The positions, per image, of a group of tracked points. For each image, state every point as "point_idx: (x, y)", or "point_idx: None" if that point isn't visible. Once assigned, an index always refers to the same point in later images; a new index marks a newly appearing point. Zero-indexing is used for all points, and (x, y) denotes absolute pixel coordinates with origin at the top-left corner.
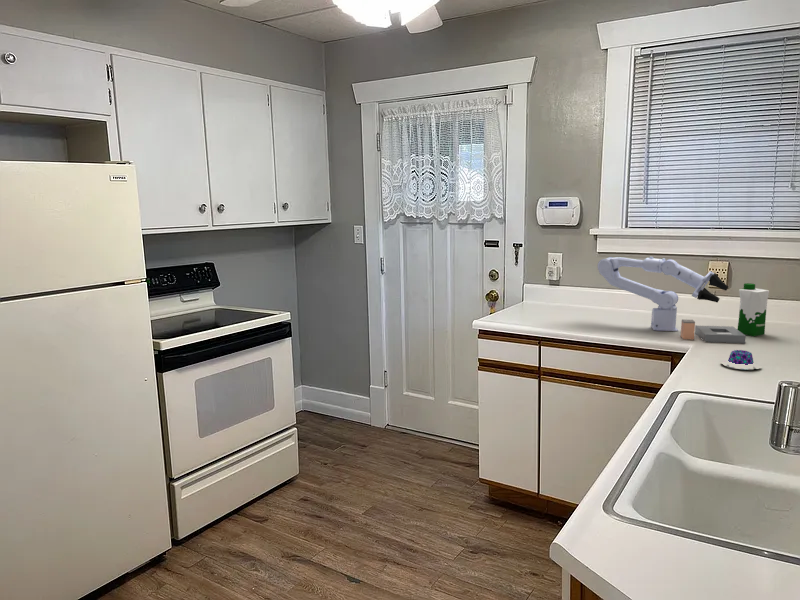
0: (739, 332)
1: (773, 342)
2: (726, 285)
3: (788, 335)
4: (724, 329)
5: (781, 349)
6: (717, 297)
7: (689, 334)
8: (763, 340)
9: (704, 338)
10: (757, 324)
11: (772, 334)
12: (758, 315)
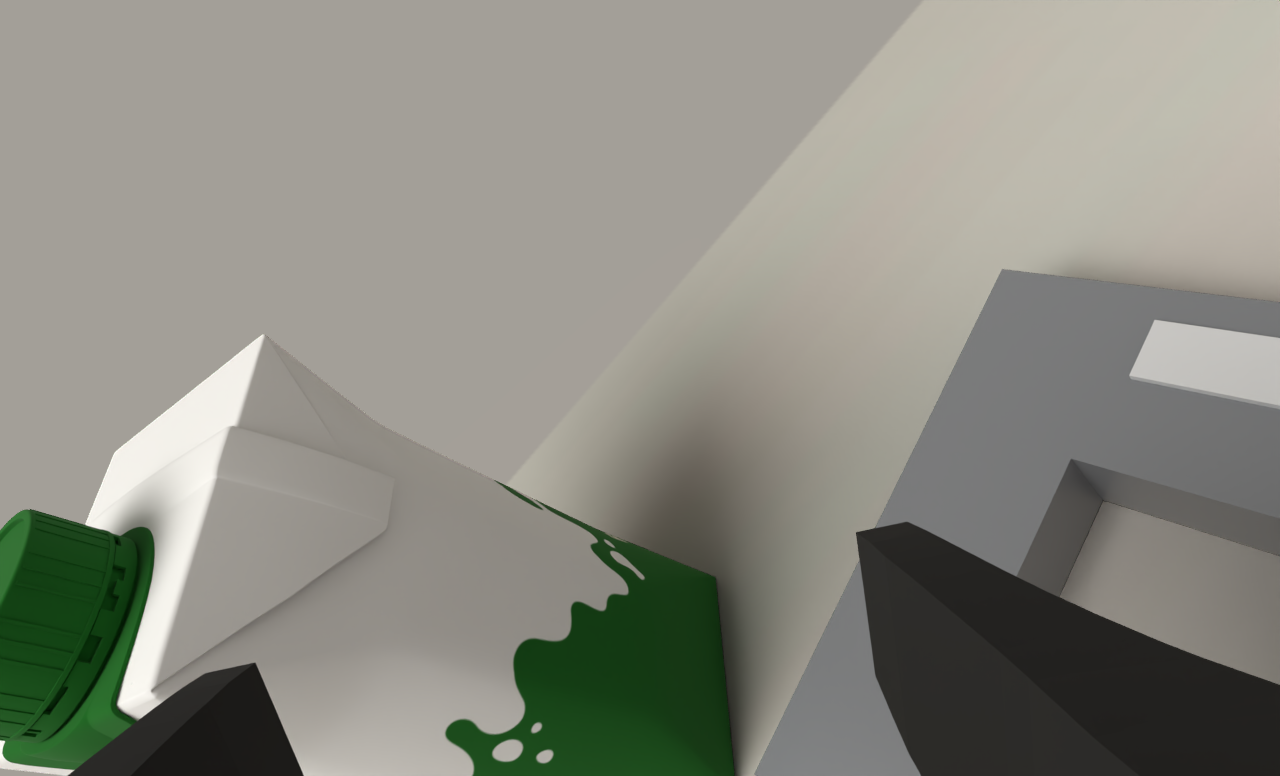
0: (947, 431)
1: (748, 346)
2: (167, 708)
3: None
4: None
5: (879, 131)
6: (913, 543)
7: None
8: (762, 421)
9: None
10: (606, 533)
11: None
12: (526, 496)
